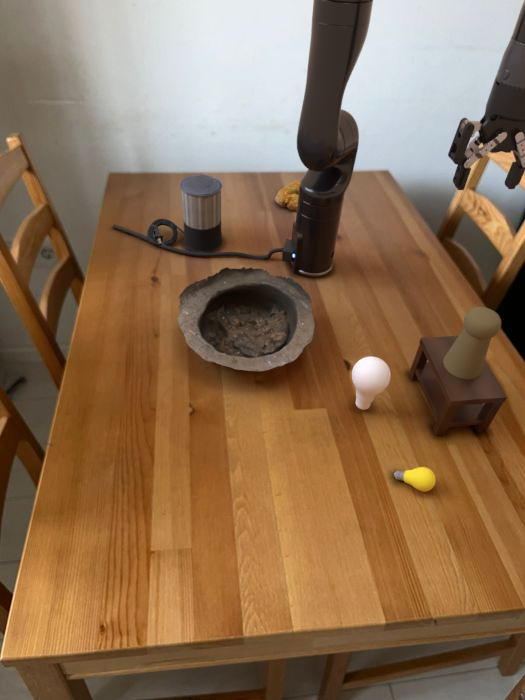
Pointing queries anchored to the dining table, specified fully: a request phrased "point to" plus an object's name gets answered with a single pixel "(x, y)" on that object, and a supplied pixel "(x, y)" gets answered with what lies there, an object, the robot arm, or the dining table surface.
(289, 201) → the golden lumpy piece
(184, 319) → the stone bowl
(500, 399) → the shelf
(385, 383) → the lightbulb
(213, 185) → the milk frother
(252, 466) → the dining table surface
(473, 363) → the cork
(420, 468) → the light bulb
